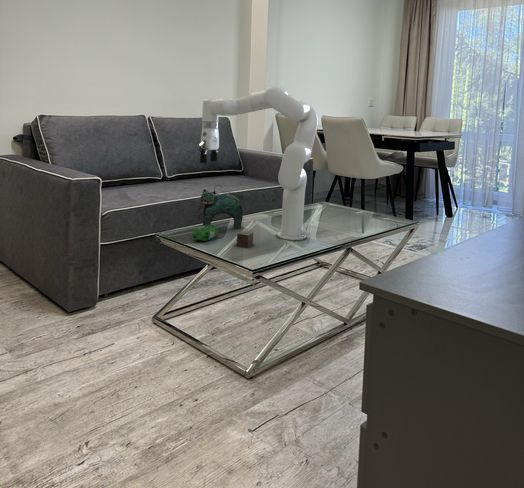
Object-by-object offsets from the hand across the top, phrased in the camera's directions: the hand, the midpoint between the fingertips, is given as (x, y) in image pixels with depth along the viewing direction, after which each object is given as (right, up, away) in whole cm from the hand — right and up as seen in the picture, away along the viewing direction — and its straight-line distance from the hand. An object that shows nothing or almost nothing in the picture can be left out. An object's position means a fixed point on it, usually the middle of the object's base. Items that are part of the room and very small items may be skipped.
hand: (208, 162), depth 233 cm
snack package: (+1, -32, -23) cm, 39 cm away
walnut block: (+18, -33, -30) cm, 48 cm away
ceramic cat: (+6, -31, -1) cm, 31 cm away
